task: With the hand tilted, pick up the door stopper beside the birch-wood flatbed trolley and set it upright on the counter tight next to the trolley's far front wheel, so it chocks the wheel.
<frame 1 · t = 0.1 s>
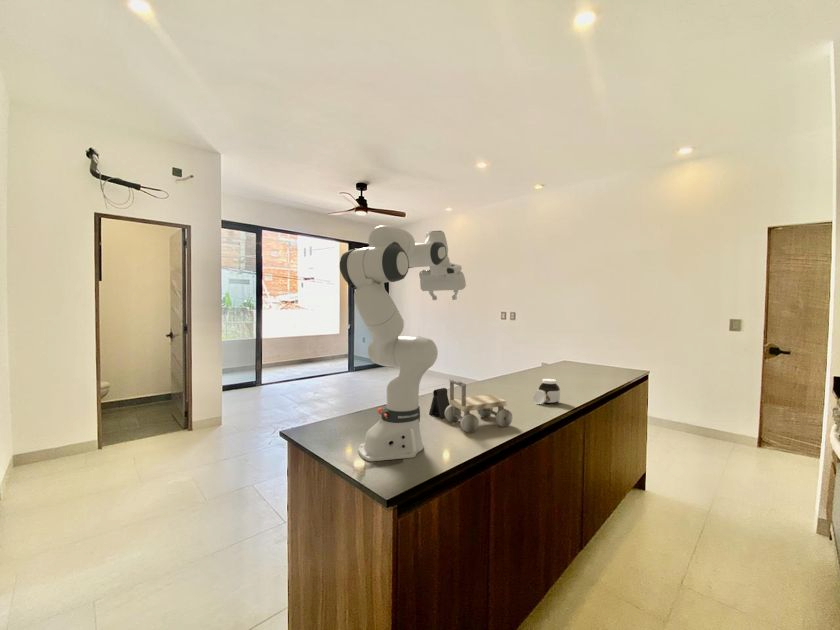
hand: (444, 299, 157), 52 cm above the table, tool tilted 20°, fingers open, 8 cm apart
wheeled trolley: (477, 423, 149), on the table
spread jar: (546, 403, 179), on the table
door stopper: (440, 415, 161), on the table
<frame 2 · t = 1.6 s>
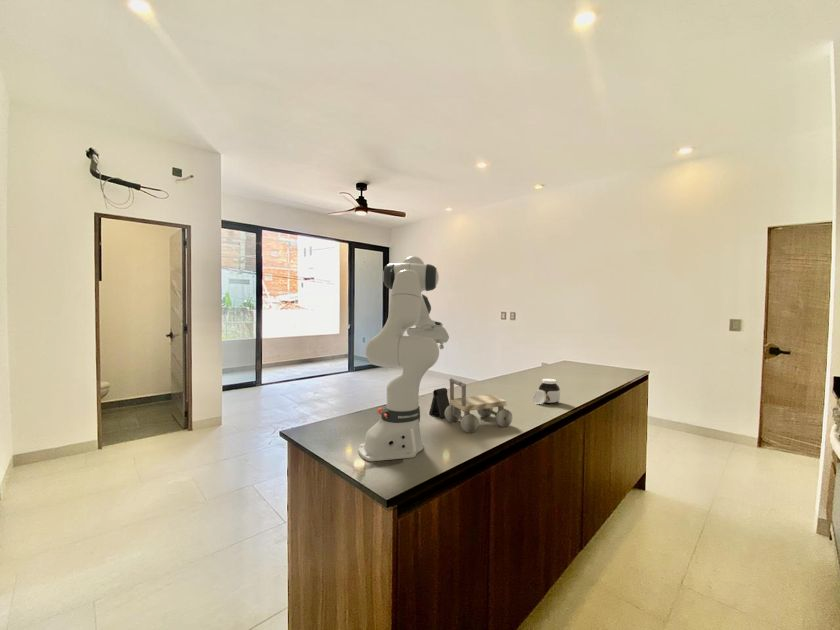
hand: (433, 349, 172), 29 cm above the table, tool tilted 45°, fingers open, 8 cm apart
nothing on the table moved.
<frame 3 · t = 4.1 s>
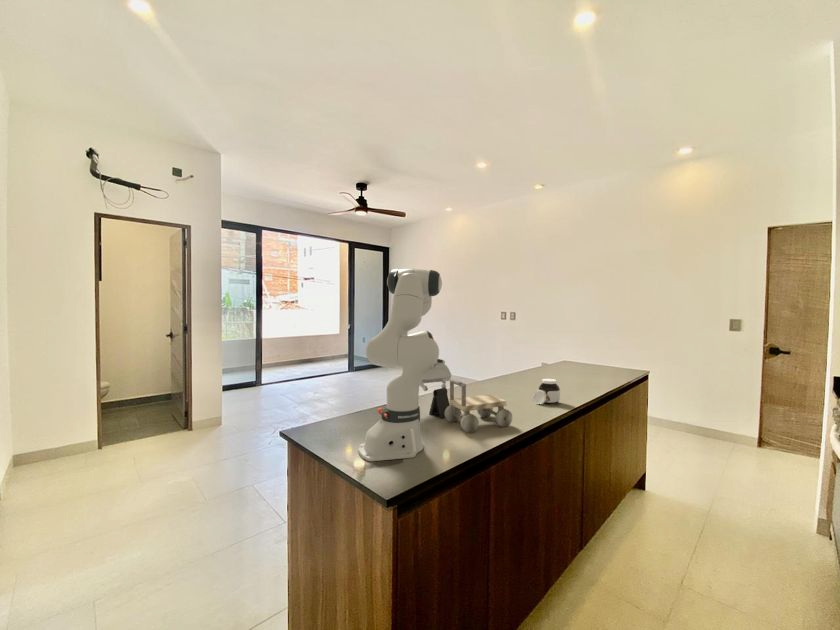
hand: (435, 389, 166), 11 cm above the table, tool tilted 45°, fingers open, 8 cm apart
nothing on the table moved.
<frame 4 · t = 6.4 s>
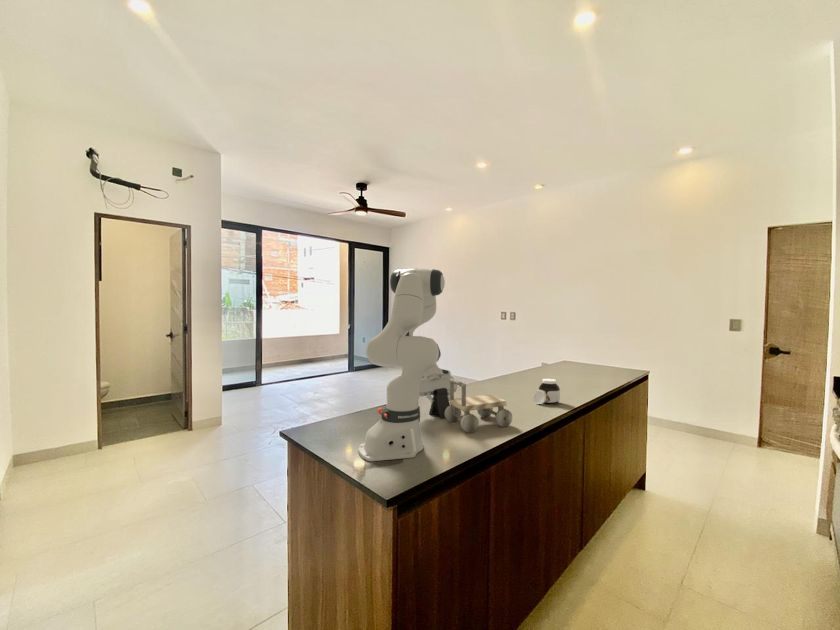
hand: (441, 401, 160), 6 cm above the table, tool tilted 45°, fingers closed on door stopper, 6 cm apart
door stopper: (440, 415, 161), on the table, touching gripper
everything else where it was.
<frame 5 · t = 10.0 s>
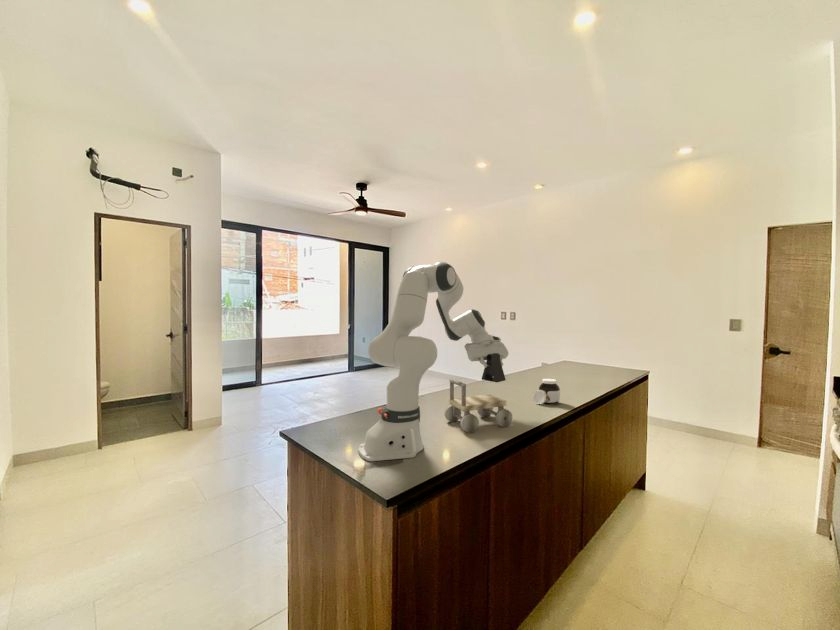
hand: (494, 366, 161), 22 cm above the table, tool tilted 45°, fingers closed on door stopper, 6 cm apart
door stopper: (493, 380, 162), point 15 cm above the table, touching gripper
everything else where it was.
when the fingers open (8 cm above the table, at t = 13.8 s): door stopper drops 1 cm, on the table.
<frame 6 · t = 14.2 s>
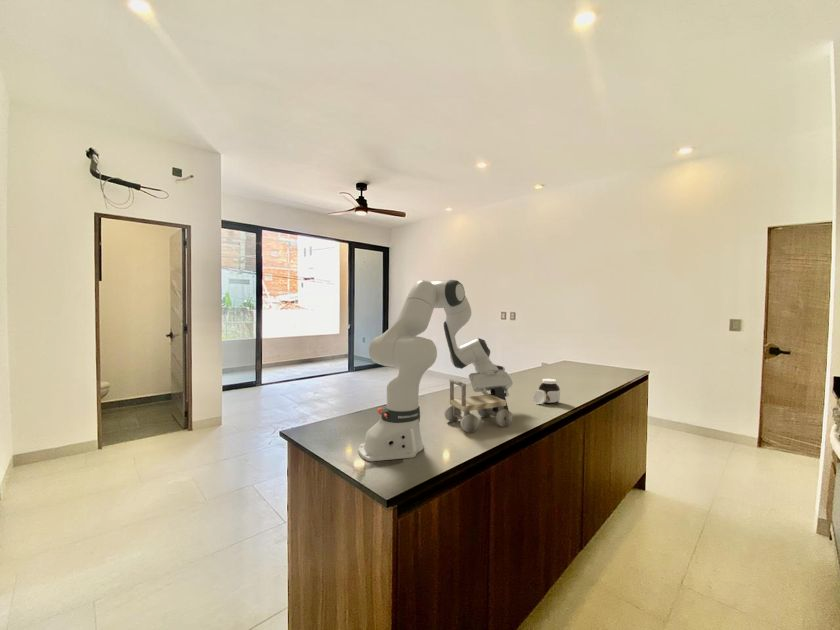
hand: (498, 397, 161), 8 cm above the table, tool tilted 45°, fingers open, 8 cm apart
door stopper: (497, 414, 162), on the table
everything else where it was.
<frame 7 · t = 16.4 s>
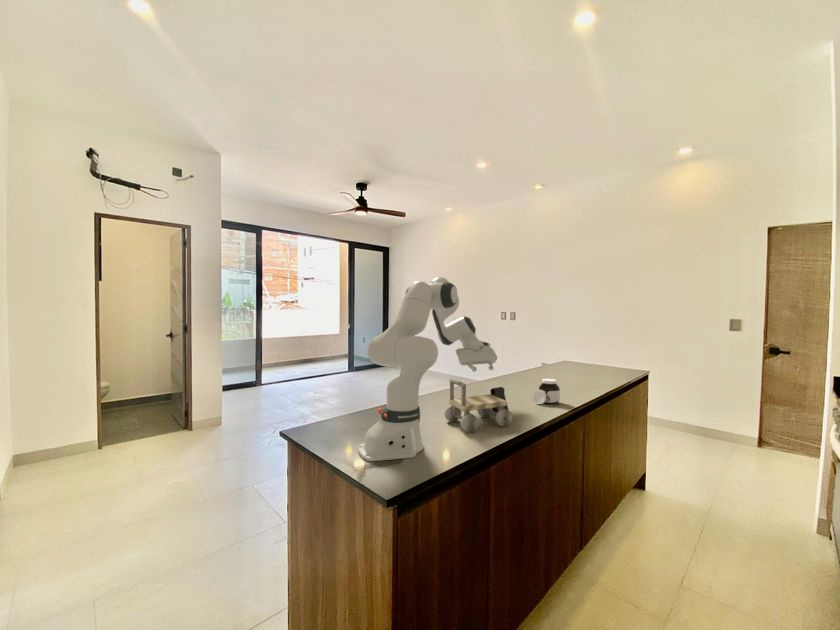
hand: (483, 370, 172), 18 cm above the table, tool tilted 45°, fingers open, 8 cm apart
nothing on the table moved.
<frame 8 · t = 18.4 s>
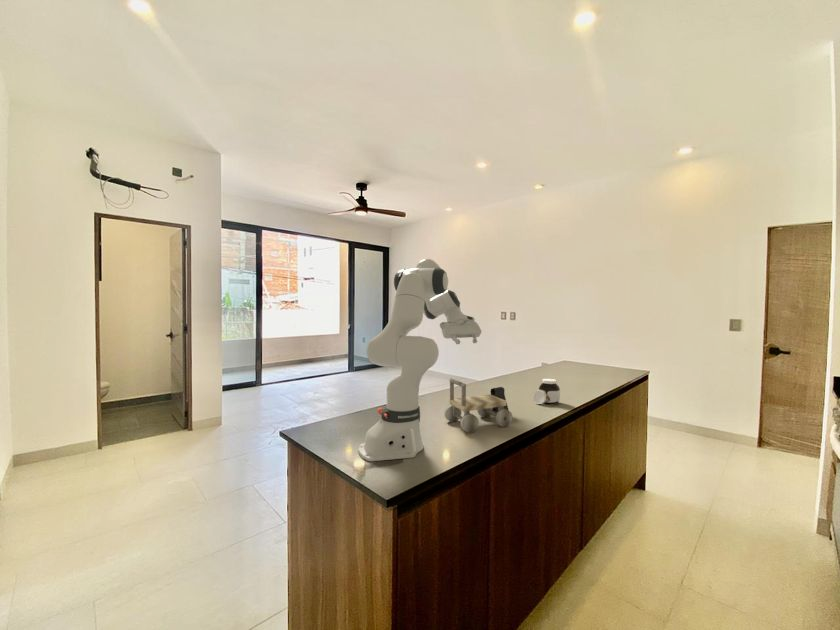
hand: (467, 343, 172), 31 cm above the table, tool tilted 45°, fingers open, 8 cm apart
nothing on the table moved.
at the end: door stopper inside the target area on the table beside the wheeled trolley (0.6 cm from its centre), on the table; door stopper tilted 0°; the gripper is holding nothing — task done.
